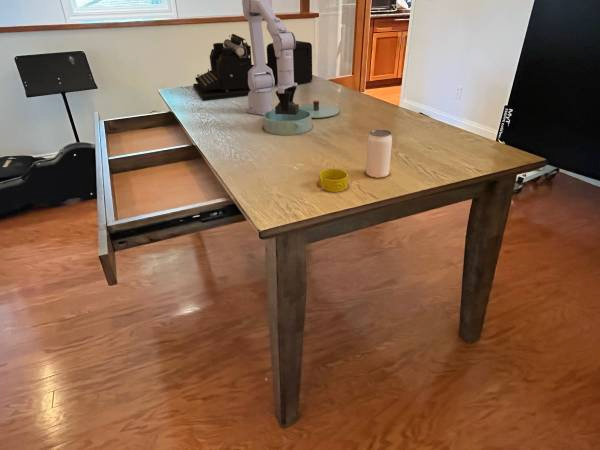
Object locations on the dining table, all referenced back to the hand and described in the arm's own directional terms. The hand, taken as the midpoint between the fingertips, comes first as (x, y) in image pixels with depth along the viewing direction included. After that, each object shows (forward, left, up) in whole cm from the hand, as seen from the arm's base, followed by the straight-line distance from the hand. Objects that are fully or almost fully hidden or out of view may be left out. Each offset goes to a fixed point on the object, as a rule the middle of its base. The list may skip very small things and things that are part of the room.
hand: (287, 108), depth 152 cm
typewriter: (-63, +34, -7) cm, 72 cm away
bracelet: (+40, -36, -7) cm, 54 cm away
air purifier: (-44, +65, -7) cm, 79 cm away
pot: (0, 0, -7) cm, 7 cm away
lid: (-1, +22, -6) cm, 23 cm away
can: (+47, -23, -7) cm, 53 cm away
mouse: (0, 0, -1) cm, 1 cm away
